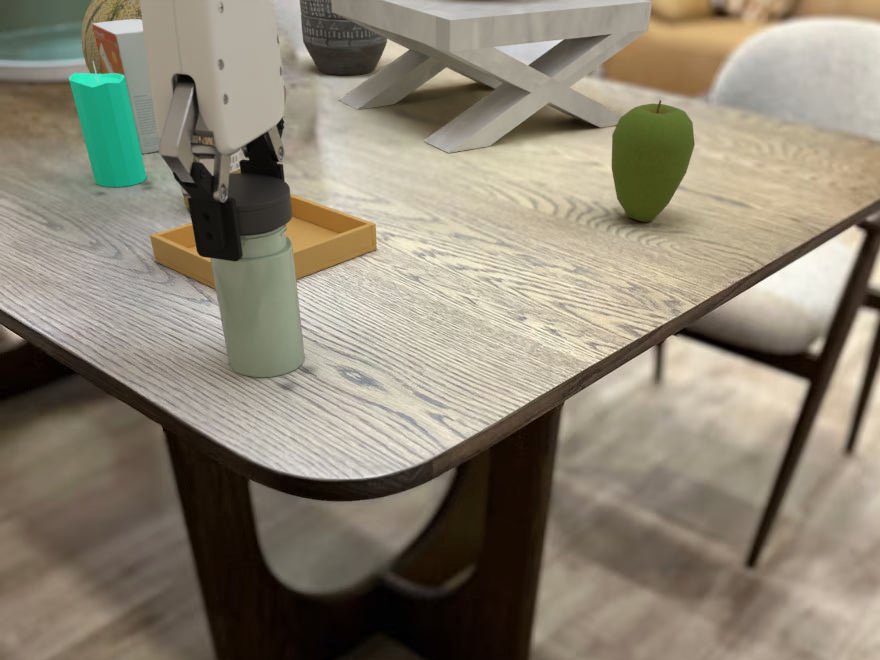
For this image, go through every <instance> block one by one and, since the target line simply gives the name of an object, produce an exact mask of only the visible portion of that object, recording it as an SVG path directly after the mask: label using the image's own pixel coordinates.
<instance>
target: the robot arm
mask: <svg viewBox="0 0 880 660" xmlns="http://www.w3.org/2000/svg"><path fill="white" fill-rule="evenodd" d="M141 13H142V25H143V35H144V43H145V52H146V59H147V67H148V75H149V82H150V89H151V96H152V102H153V108H154V114H155V120H156V125H157V130H158V134H159V138H160V143H159V151H158V152H159V155H160V156H161V159H163V161H164V162H165V164H166V165H167V166H168V168H169V169H170V170H171V172H172V175H173V178H174V180H175V181H176V182H177V183H178V184H179V185H180V191H181V195H182V197H183V196H184V197H185V198H188V203H189V209H188V210H189V214H190V220H191V223H192V226H193V232H194V237H195V243H196V249H197V252H198V254H199V255H200V256H202V257H207V258H214V259H221V260H228V261H238V260H239V259H241V258H242V256H243V253H242V245H241V238H240V231H239V224H238V217H237V209H236V202H235V198H228V191H229V177H230V162H231V153H233V152H235V151H236V150H238V149H240V150H241V152H242V154H243V157H244V158H245V159H242V160H241V161H239V162H240V170H241V173H250V174H261V175H267V176H272V177H275V178H278V179H281V180H283V181H285V182H286V179H285V171H284V164H283V162H284V161H285V156H286V155H285V154H286V153H285V147H284V144H283V141H282V136H283V132H284V129H285V125H284V124H285V120H284V114H285V107H286V106H285V105H286V101H287V100H286V99H287V89H286V86H285V85H284V75H283V64H282V55H281V54H282V53H281V48H280V47H281V46H280V40H279V39H280V38H279V31H278V24H277V17H276V11H275V5H274V0H141ZM200 136H202V137H211V138H214V140H215V143H214V144H213V145H207V144H199V143H198V140H199V137H200ZM200 157H203V158H211V159H214V171H213V176H212V174H211V173H210V172H209V171H208V170H207V168H206V167H205V166H204V165H203V164H202V163H199V158H200ZM184 197H183V198H184Z"/></svg>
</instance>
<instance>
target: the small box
mask: <svg viewBox="0 0 880 660" xmlns="http://www.w3.org/2000/svg"><path fill="white" fill-rule="evenodd" d="M92 27H93V31H94V35H95V39H96V43H97V48H98V52H99V57H100V61H101V65H102V70H103V74H109V73H117V74H122V75H124V76H125V80H126V84H127V89H128V94H129V98H130V103H131V108H132V112H133V117H134V121H135V126H136V131H137V135H138V140H139V145H140V149H141V154H142V155H146V154H152V153H157V152H159V143H160V138H159V134H158V130H157V125H156V120H155V114H154V108H153V102H152V96H151V89H150V82H149V75H148V67H147V59H146V52H145V43H144V35H143V25H142V20H140V19H129V20H117V21H108V22H100V23H92Z"/></svg>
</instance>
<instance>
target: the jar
mask: <svg viewBox="0 0 880 660" xmlns="http://www.w3.org/2000/svg"><path fill="white" fill-rule="evenodd" d="M286 230H287V227H286V224H285V225H283V226H281V227H279V228H277V229H274V230H270V231H266V232H261V233H254V234H240V238H241V245H242V253H243V256H242V258H241V259H239V260H238V261H228V260H221V259H214V258H210V259H211V265H212V270H213V276H214V282H215V287H216V289H215V292H216V299H217V303H218V309H219V314H220V319H221V320H220V321H221V326H222V331H223V338H224V343H225V347H226V348H225V349H226V354H227V355H226V356H227V361H228V365H229V367H230V368H231V369H232V371H234V372H236V373H238V374H239V375H243V376H246V377H252V378H273V377H278V376H283V375H287V374H289V373H291V372H293V371H295V370H297V369H299V368H300V367H301V366H302V365H303V363H304V362H305V359H306V355H305V345H304V337H303V329H302V319H301V311H300V301H299V293H298V283H297V282H298V281H297V279H296V273H295V264H294V255H293V246H292V242H291V240H290V239H289V238H288V237H286Z"/></svg>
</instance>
